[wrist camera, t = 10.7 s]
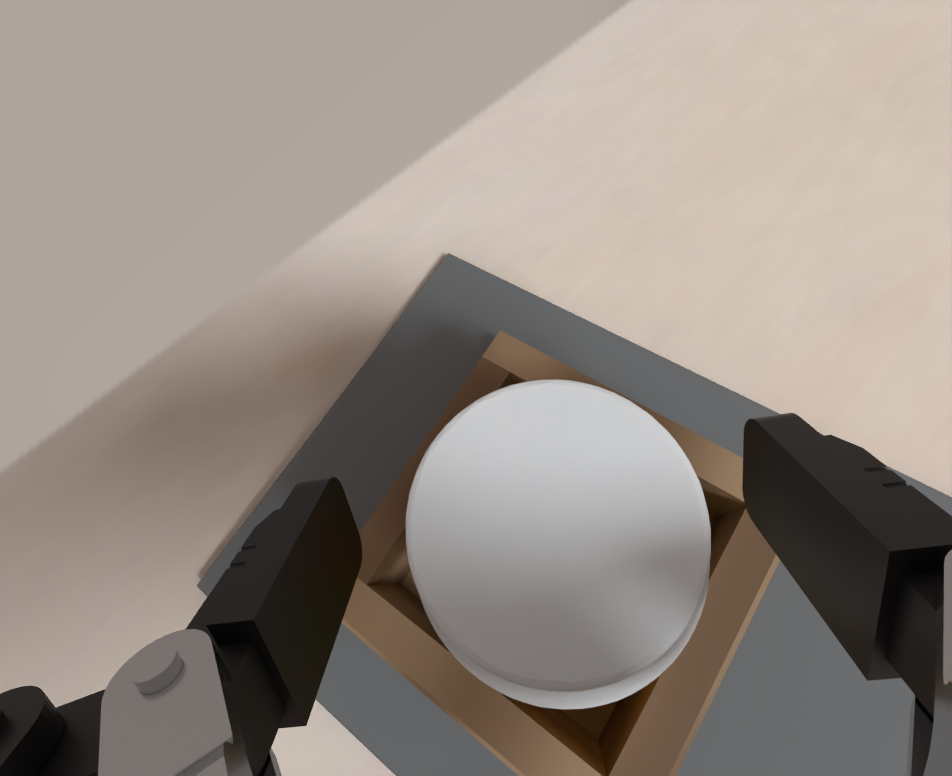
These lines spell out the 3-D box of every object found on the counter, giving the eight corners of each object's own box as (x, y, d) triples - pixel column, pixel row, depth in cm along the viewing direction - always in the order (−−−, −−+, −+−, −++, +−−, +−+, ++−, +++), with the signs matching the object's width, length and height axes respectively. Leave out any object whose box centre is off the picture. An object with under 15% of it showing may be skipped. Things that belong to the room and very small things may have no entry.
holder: (329, 600, 17) (265, 605, 13) (504, 346, 19) (491, 291, 16) (624, 851, 13) (648, 954, 10) (795, 502, 16) (866, 478, 12)
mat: (204, 585, 18) (196, 585, 18) (450, 258, 22) (448, 253, 21) (833, 1180, 11) (843, 1201, 11) (1054, 553, 15) (1066, 553, 14)
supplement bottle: (439, 597, 15) (275, 613, 7) (515, 444, 17) (464, 286, 8) (605, 695, 14) (686, 892, 5) (674, 516, 15) (832, 420, 6)
